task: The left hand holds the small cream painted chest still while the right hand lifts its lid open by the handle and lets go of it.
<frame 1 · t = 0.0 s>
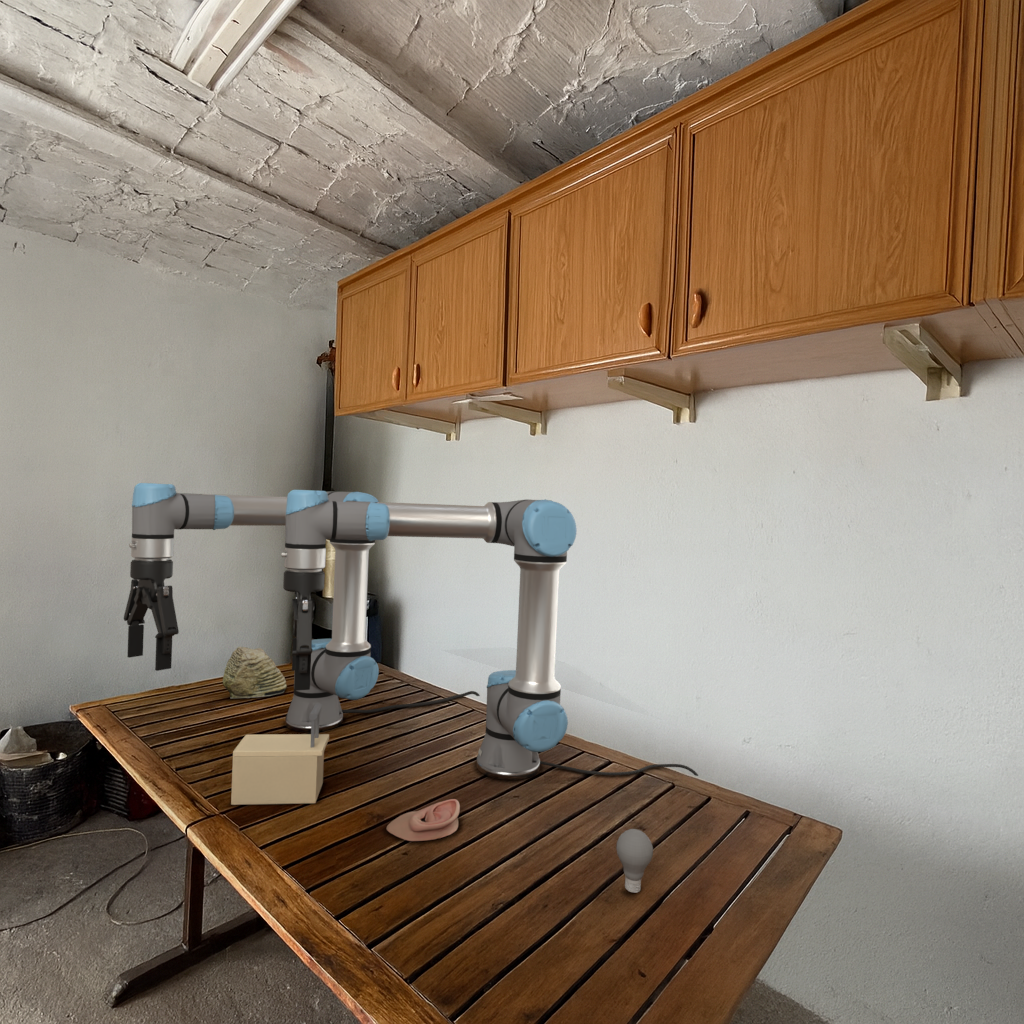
left hand: (148, 662, 129), 28 cm above the table, tool pointing down, fingers open, 13 cm apart
right hand: (300, 679, 122), 28 cm above the table, tool pointing down, fingers open, 13 cm apart
lid: (283, 727, 134), point 14 cm above the table, hinge at 0.0°
fossil: (254, 694, 198), on the table
anatomical model: (423, 827, 123), on the table
light bulb: (632, 891, 106), on the table
chest: (278, 793, 134), on the table
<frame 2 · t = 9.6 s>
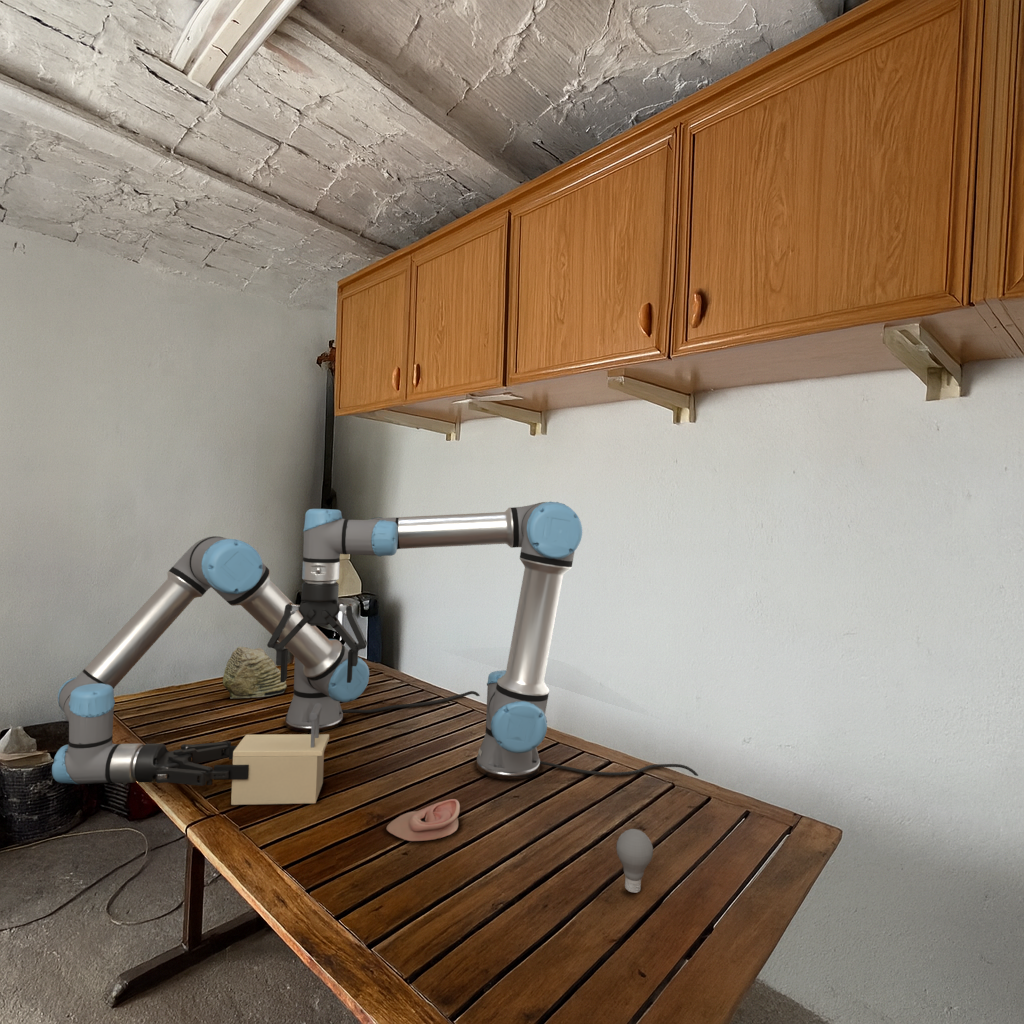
left hand: (254, 761, 134), 7 cm above the table, tool horizontal, fingers closed on chest, 9 cm apart
right hand: (316, 681, 135), 24 cm above the table, tool pointing down, fingers open, 13 cm apart
chest: (278, 793, 134), on the table, touching left hand
everything else where it was.
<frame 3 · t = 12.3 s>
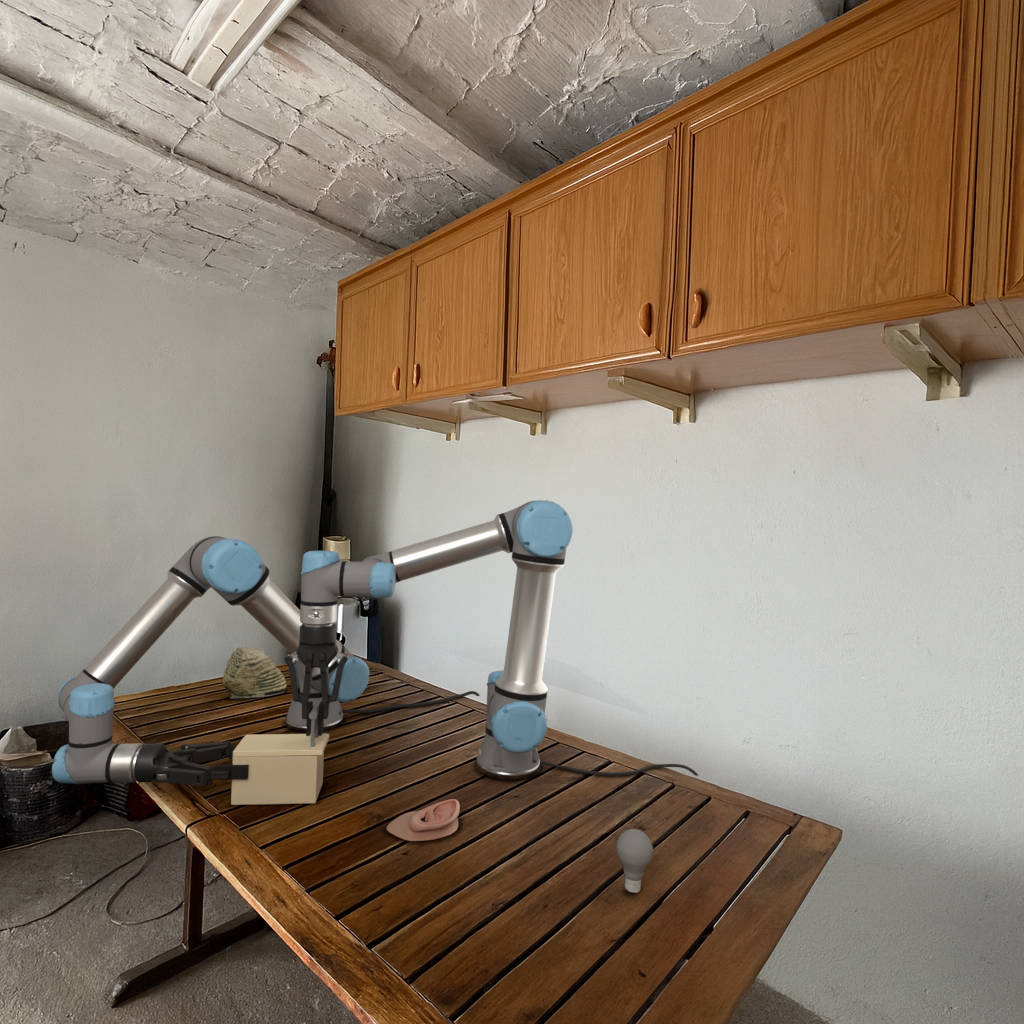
left hand: (254, 761, 134), 7 cm above the table, tool horizontal, fingers closed on chest, 9 cm apart
right hand: (314, 733, 135), 13 cm above the table, tool pointing down, fingers closed on lid, 2 cm apart
lid: (283, 727, 134), point 14 cm above the table, hinge at 0.5°, touching right hand
chest: (278, 793, 134), on the table, touching left hand
everything else where it was.
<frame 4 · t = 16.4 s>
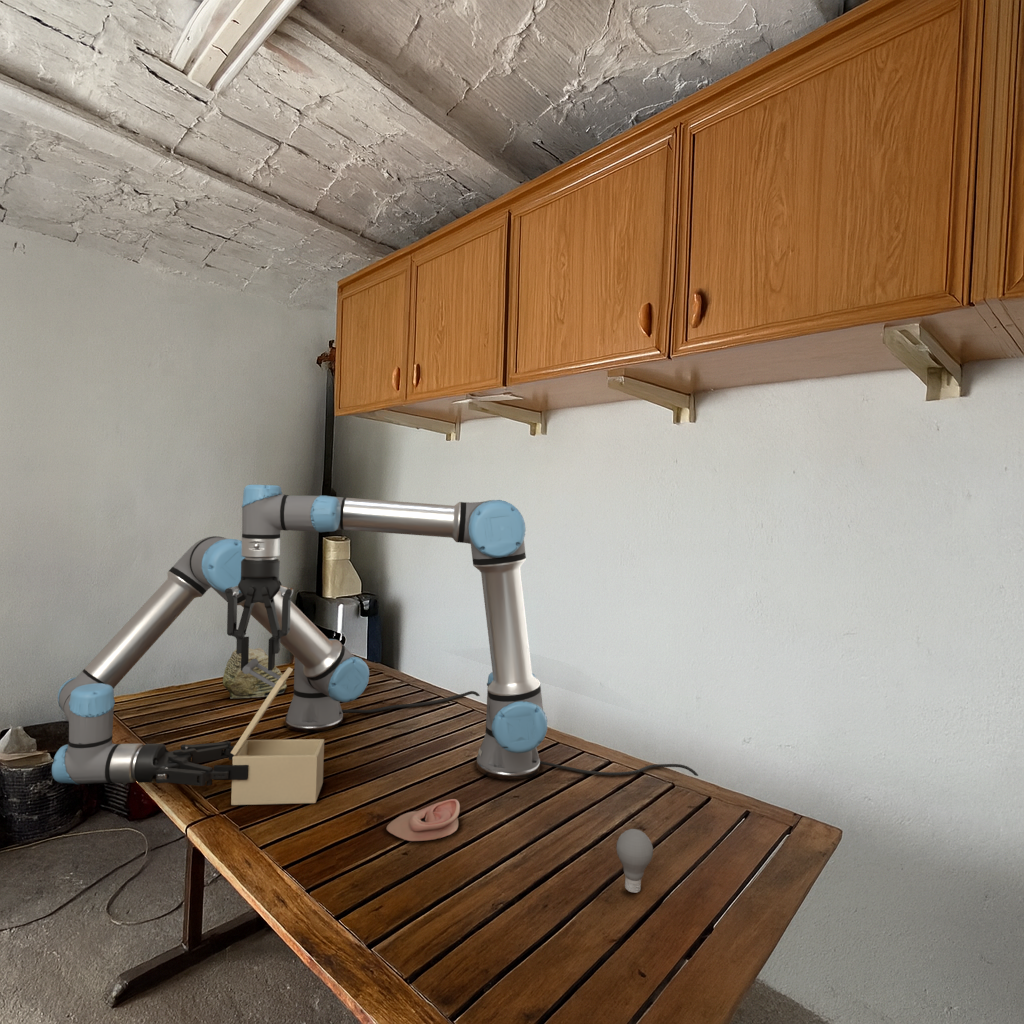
left hand: (254, 762, 133), 7 cm above the table, tool horizontal, fingers closed on chest, 9 cm apart
right hand: (258, 668, 133), 27 cm above the table, tool pointing down, fingers open, 5 cm apart
lid: (247, 700, 133), point 20 cm above the table, hinge at 59.0°
chest: (278, 793, 134), on the table, touching left hand
everything else where it was.
when the left hand's fingers open (7 cm above the table, at t = 19.1 s): chest stays where it is, on the table.
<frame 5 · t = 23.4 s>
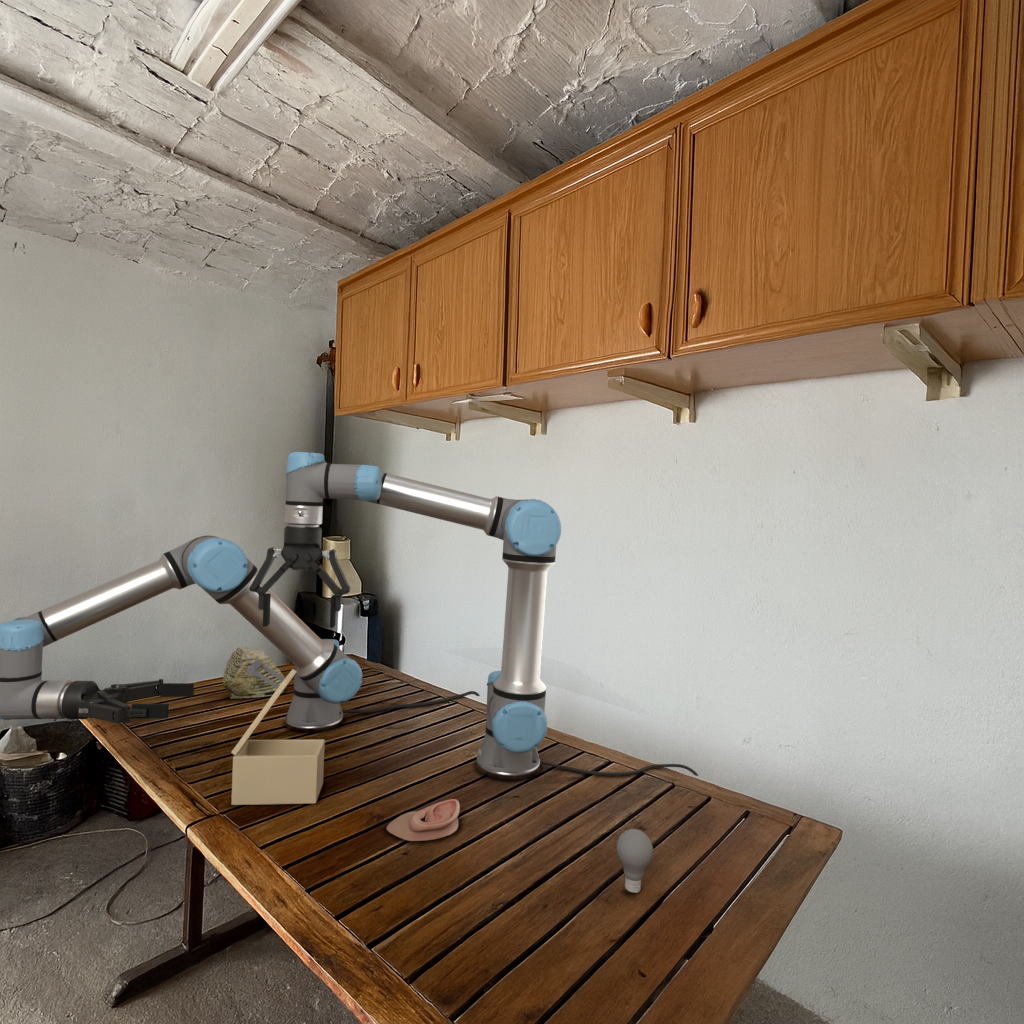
left hand: (181, 699, 131), 20 cm above the table, tool horizontal, fingers open, 13 cm apart
right hand: (299, 626, 134), 36 cm above the table, tool pointing down, fingers open, 13 cm apart
lid: (250, 700, 133), point 20 cm above the table, hinge at 56.7°
chest: (279, 793, 134), on the table
everything else where it was.
at the end: lid at +57° (first picture: +0°); the left hand is holding nothing; the right hand is holding nothing; chest tilted 0°; chest never tilted more than 1° during the clip; chest moved 0.1 cm from its start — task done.
